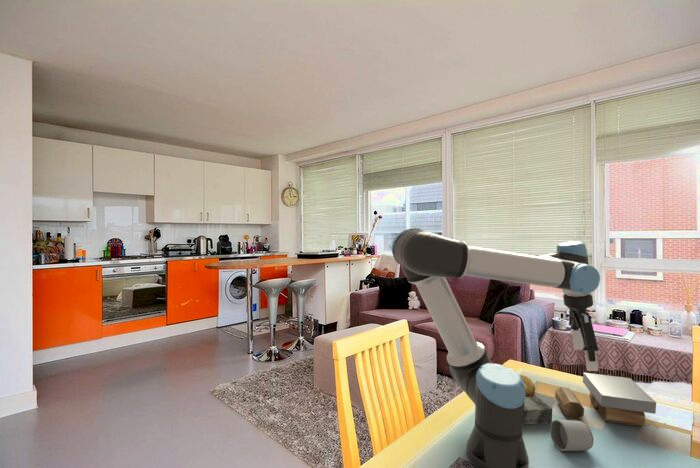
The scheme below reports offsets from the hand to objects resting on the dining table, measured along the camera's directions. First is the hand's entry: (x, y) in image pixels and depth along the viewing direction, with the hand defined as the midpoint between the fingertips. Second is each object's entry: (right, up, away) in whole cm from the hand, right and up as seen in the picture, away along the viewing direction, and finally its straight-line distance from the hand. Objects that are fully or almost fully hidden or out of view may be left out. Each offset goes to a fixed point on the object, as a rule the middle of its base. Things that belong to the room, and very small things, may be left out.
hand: (585, 359), depth 110 cm
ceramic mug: (-11, -21, -9) cm, 26 cm away
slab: (+14, -14, +6) cm, 21 cm away
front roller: (+13, -21, +3) cm, 24 cm away
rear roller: (+15, -20, +10) cm, 27 cm away
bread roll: (-12, -19, +17) cm, 28 cm away
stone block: (-17, -20, +4) cm, 27 cm away
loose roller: (0, -20, +8) cm, 22 cm away
